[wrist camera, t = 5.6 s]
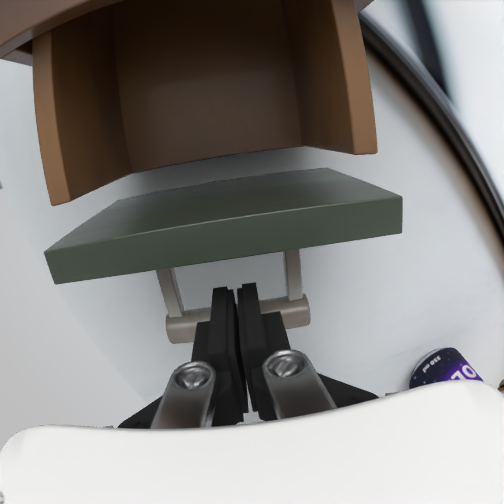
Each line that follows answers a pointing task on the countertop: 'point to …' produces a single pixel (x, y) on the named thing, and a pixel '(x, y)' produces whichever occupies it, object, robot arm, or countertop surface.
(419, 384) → the beverage can
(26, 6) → the cabinet
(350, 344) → the countertop surface
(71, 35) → the drawer
